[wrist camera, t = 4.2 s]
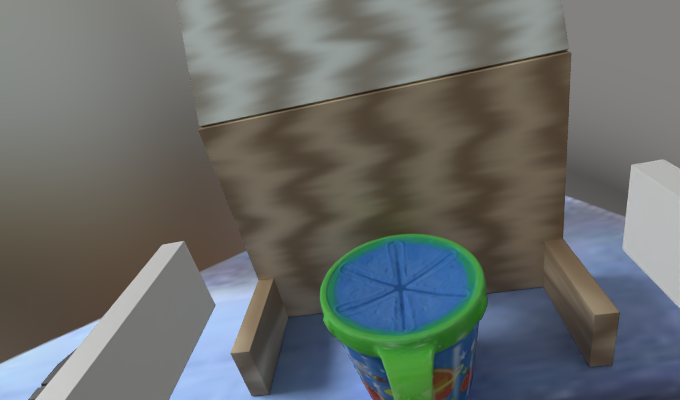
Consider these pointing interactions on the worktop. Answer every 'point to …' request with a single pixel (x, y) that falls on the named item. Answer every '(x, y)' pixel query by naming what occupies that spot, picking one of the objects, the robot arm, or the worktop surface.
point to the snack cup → (407, 315)
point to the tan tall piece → (389, 146)
